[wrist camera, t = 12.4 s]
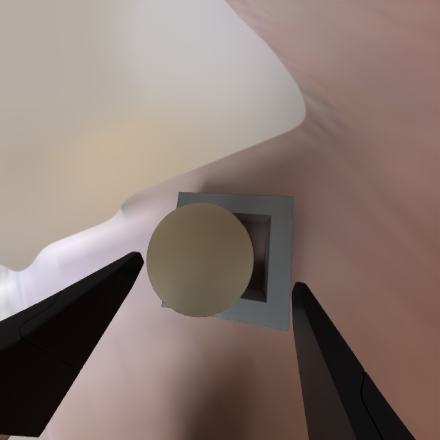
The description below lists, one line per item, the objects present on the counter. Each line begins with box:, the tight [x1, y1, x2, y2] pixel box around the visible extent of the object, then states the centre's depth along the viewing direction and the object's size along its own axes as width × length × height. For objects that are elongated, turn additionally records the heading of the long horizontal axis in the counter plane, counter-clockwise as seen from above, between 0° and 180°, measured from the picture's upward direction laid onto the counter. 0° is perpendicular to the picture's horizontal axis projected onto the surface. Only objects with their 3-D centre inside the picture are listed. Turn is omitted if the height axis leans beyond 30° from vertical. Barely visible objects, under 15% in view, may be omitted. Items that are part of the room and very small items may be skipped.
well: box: [162, 192, 293, 331], centre depth 17 cm, size 11×11×4 cm
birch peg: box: [147, 203, 254, 317], centre depth 12 cm, size 4×4×12 cm
